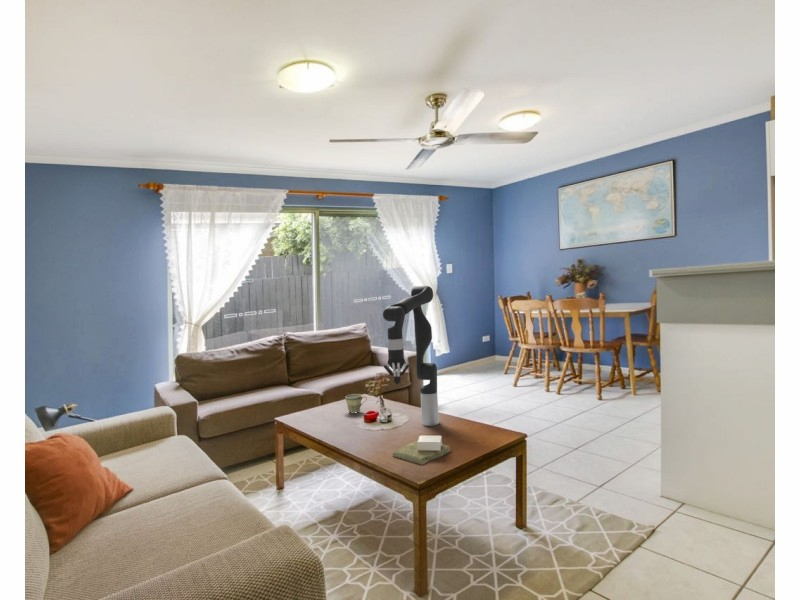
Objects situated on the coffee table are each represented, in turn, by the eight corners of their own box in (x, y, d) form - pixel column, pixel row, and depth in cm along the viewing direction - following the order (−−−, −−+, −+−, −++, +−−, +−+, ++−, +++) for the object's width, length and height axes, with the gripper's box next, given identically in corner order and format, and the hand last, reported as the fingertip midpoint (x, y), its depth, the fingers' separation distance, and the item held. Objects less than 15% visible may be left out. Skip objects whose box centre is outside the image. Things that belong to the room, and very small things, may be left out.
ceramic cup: (345, 414, 265) (344, 398, 265) (347, 410, 275) (346, 394, 275) (366, 413, 265) (366, 397, 265) (367, 409, 275) (367, 393, 275)
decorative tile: (392, 457, 197) (391, 450, 197) (420, 444, 212) (420, 437, 212) (424, 468, 185) (424, 459, 185) (452, 452, 200) (452, 445, 200)
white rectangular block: (419, 435, 203) (441, 435, 201) (420, 444, 203) (441, 444, 201) (417, 441, 195) (440, 442, 193) (418, 450, 195) (440, 451, 193)
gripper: (410, 346, 214) (412, 381, 214) (383, 347, 216) (385, 382, 216) (408, 348, 206) (410, 385, 207) (380, 349, 208) (382, 386, 209)
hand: (397, 383), depth 212 cm, fingers closed
